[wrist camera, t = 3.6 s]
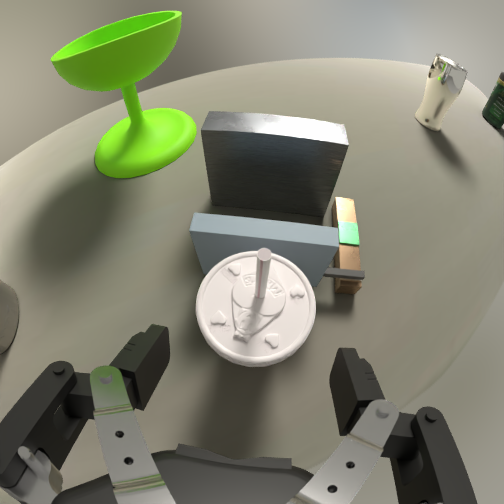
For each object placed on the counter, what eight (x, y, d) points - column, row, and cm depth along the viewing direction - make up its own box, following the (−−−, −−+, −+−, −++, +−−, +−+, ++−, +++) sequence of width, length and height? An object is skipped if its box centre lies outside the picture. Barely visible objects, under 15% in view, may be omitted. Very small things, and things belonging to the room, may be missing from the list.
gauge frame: (194, 277, 25) (168, 211, 16) (217, 184, 31) (209, 111, 22) (354, 294, 24) (404, 238, 16) (347, 199, 30) (374, 131, 21)
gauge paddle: (204, 274, 24) (189, 230, 18) (207, 259, 25) (194, 212, 19) (357, 290, 24) (390, 253, 17) (356, 275, 24) (387, 235, 18)
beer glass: (413, 107, 44) (434, 50, 30) (441, 123, 42) (465, 67, 29) (411, 120, 41) (436, 56, 27) (442, 137, 39) (471, 77, 26)
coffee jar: (499, 133, 46) (524, 87, 30) (479, 115, 49) (502, 68, 33) (501, 126, 49) (522, 84, 33) (483, 110, 52) (502, 67, 36)
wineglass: (172, 101, 41) (157, 9, 25) (216, 143, 34) (206, 15, 19) (88, 140, 36) (52, 50, 21) (106, 197, 30) (46, 73, 14)
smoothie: (300, 318, 23) (356, 228, 11) (275, 386, 20) (314, 379, 8) (233, 293, 24) (218, 183, 12) (203, 358, 22) (144, 309, 9)
